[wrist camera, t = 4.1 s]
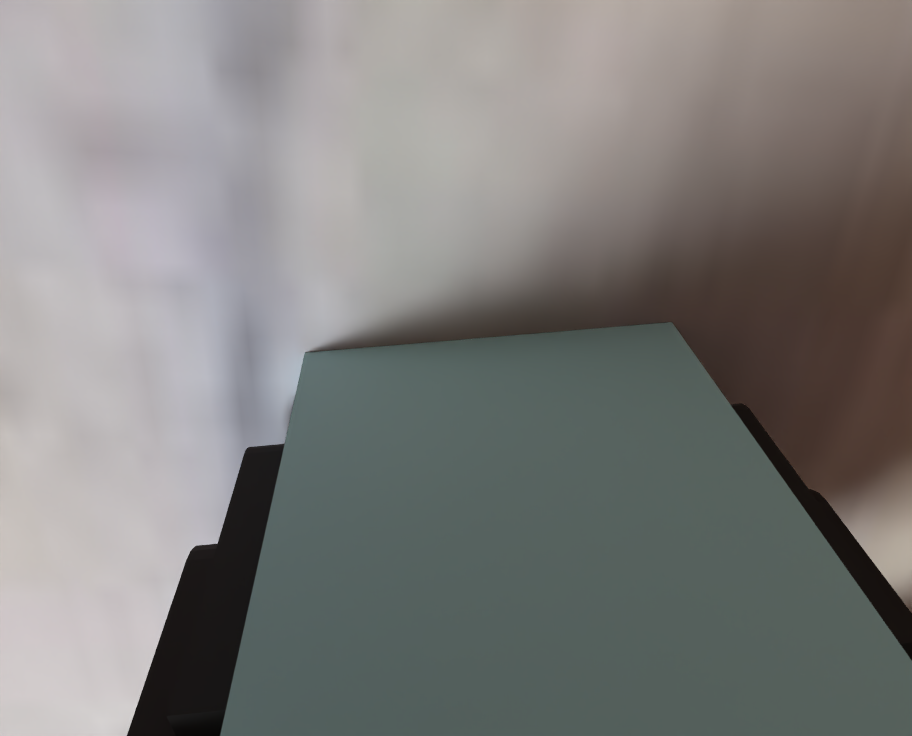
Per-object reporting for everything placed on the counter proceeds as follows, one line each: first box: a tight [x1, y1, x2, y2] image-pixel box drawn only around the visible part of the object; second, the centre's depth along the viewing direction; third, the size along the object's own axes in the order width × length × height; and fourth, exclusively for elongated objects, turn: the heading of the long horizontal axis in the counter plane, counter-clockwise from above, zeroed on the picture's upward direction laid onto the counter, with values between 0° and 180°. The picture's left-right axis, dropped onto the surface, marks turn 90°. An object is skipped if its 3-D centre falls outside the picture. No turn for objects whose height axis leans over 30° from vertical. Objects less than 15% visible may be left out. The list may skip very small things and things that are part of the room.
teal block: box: [220, 322, 912, 736], centre depth 8 cm, size 5×5×6 cm
